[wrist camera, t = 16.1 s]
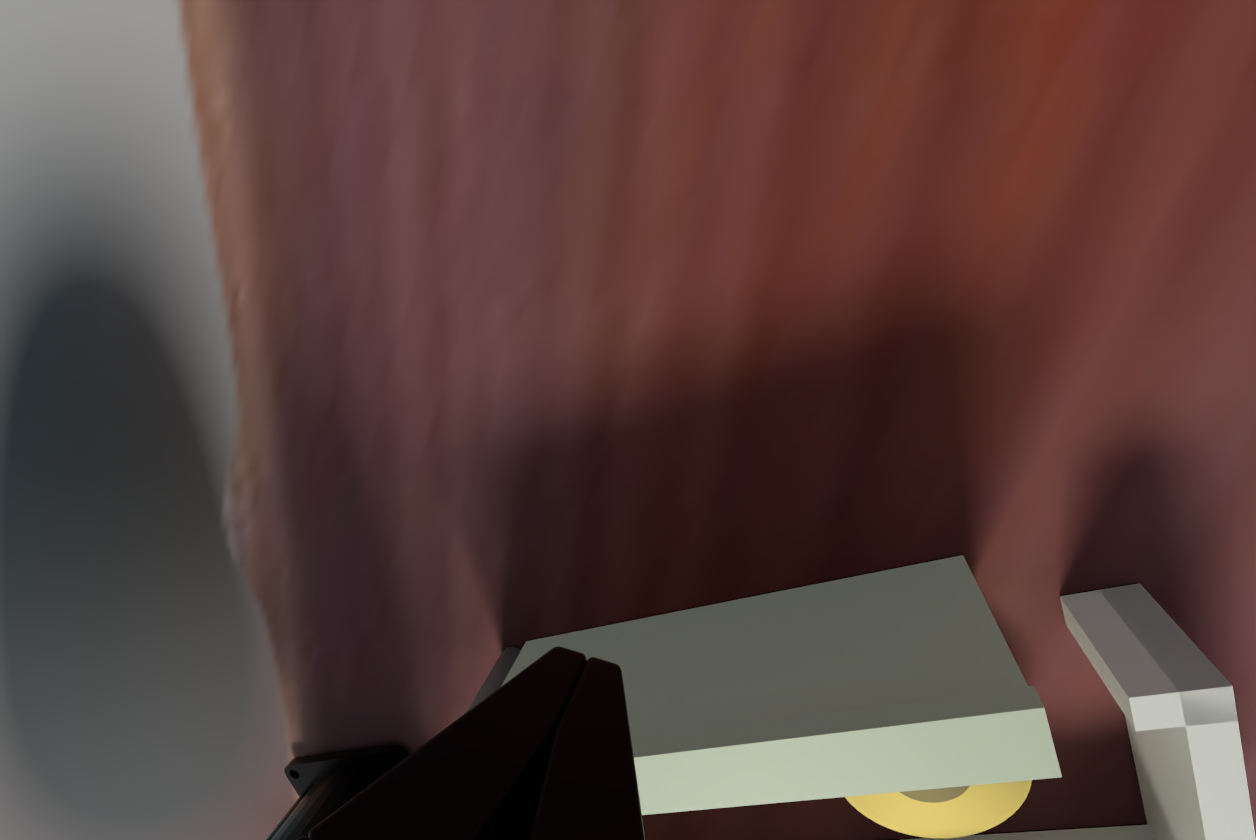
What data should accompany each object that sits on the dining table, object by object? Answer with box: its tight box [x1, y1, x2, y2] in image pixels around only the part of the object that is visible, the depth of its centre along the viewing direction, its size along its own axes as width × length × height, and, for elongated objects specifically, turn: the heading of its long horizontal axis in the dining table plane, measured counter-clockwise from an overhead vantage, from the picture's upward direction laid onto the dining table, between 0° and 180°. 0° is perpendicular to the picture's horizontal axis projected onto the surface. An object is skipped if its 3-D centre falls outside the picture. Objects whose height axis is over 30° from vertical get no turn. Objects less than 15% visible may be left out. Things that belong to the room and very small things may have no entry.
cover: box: [502, 555, 1062, 815], centre depth 18 cm, size 15×2×7 cm, turn 113°
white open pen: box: [466, 583, 1256, 840], centre depth 19 cm, size 20×12×6 cm, turn 112°
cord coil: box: [845, 780, 1032, 838], centre depth 20 cm, size 6×6×2 cm
